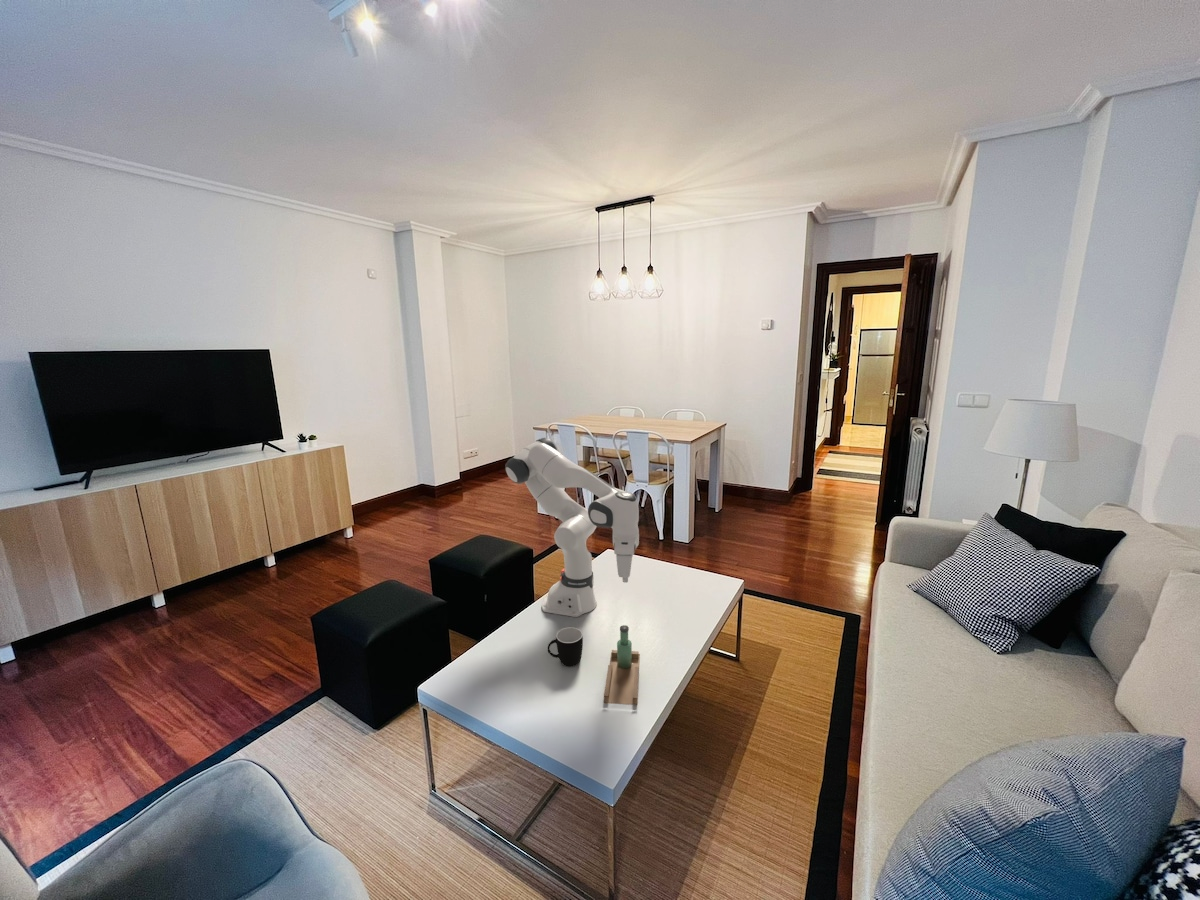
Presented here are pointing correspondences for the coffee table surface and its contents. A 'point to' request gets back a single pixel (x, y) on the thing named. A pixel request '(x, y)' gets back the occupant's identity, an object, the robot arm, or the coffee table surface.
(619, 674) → the rest
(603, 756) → the coffee table surface
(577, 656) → the mug
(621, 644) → the bottle
